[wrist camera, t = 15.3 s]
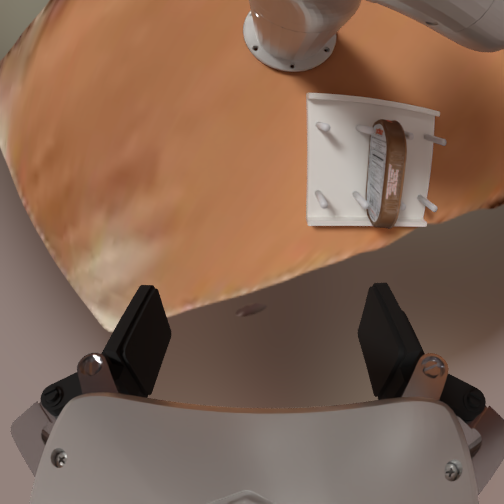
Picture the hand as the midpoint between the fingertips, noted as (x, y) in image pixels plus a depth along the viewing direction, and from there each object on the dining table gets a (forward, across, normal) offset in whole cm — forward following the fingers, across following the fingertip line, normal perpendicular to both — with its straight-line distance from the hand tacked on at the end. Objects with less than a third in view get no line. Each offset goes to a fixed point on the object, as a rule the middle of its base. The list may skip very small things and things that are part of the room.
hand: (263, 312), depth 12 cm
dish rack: (+30, -16, -1) cm, 34 cm away
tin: (+29, -16, 0) cm, 33 cm away
